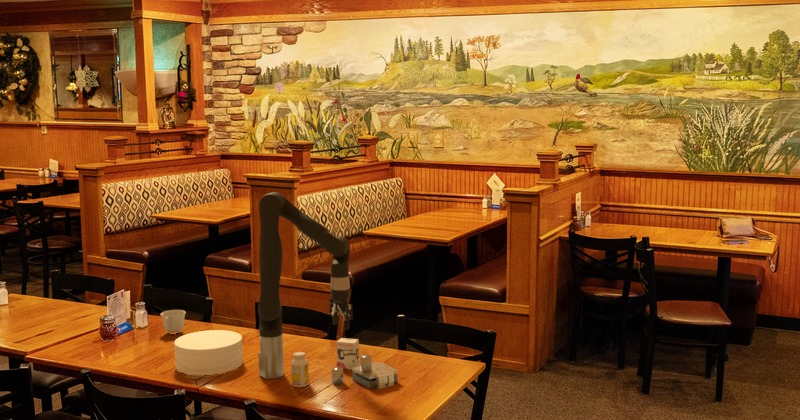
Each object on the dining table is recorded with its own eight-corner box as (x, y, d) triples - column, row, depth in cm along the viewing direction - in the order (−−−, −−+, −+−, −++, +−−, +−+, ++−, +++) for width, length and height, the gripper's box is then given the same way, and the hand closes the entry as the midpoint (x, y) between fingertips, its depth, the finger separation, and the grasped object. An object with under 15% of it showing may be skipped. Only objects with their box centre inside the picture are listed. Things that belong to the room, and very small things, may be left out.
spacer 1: (335, 385, 332) (335, 371, 331) (330, 382, 335) (329, 368, 334) (345, 383, 334) (345, 368, 333) (339, 380, 338) (339, 366, 337)
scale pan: (369, 381, 327) (369, 376, 326) (352, 372, 337) (352, 367, 337) (397, 375, 334) (397, 370, 334) (379, 366, 345) (379, 361, 344)
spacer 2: (364, 373, 330) (363, 358, 329) (358, 370, 334) (358, 355, 333) (373, 371, 332) (373, 356, 332) (367, 368, 336) (367, 353, 335)
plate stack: (162, 366, 359) (161, 340, 357) (217, 351, 379) (216, 326, 377) (200, 381, 340) (199, 354, 338) (256, 364, 360) (255, 338, 358)
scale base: (372, 390, 325) (372, 378, 325) (352, 380, 338) (352, 368, 337) (400, 383, 332) (400, 371, 332) (379, 373, 345) (379, 361, 344)
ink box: (336, 368, 352) (335, 341, 351) (340, 364, 357) (340, 337, 355) (355, 370, 350) (355, 342, 348) (359, 366, 354) (359, 339, 353)
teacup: (154, 338, 400) (153, 317, 398) (168, 329, 414) (166, 309, 413) (178, 338, 398) (177, 318, 396) (191, 329, 412) (190, 310, 411)
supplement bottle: (306, 381, 337) (305, 350, 336) (310, 386, 331) (309, 355, 329) (290, 383, 335) (289, 352, 333) (293, 388, 329) (292, 357, 327)
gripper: (322, 285, 339) (324, 324, 341) (341, 291, 327) (342, 332, 329) (338, 282, 343) (339, 321, 345) (357, 289, 331) (358, 329, 334)
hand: (341, 326), depth 337 cm, fingers open, 8 cm apart
